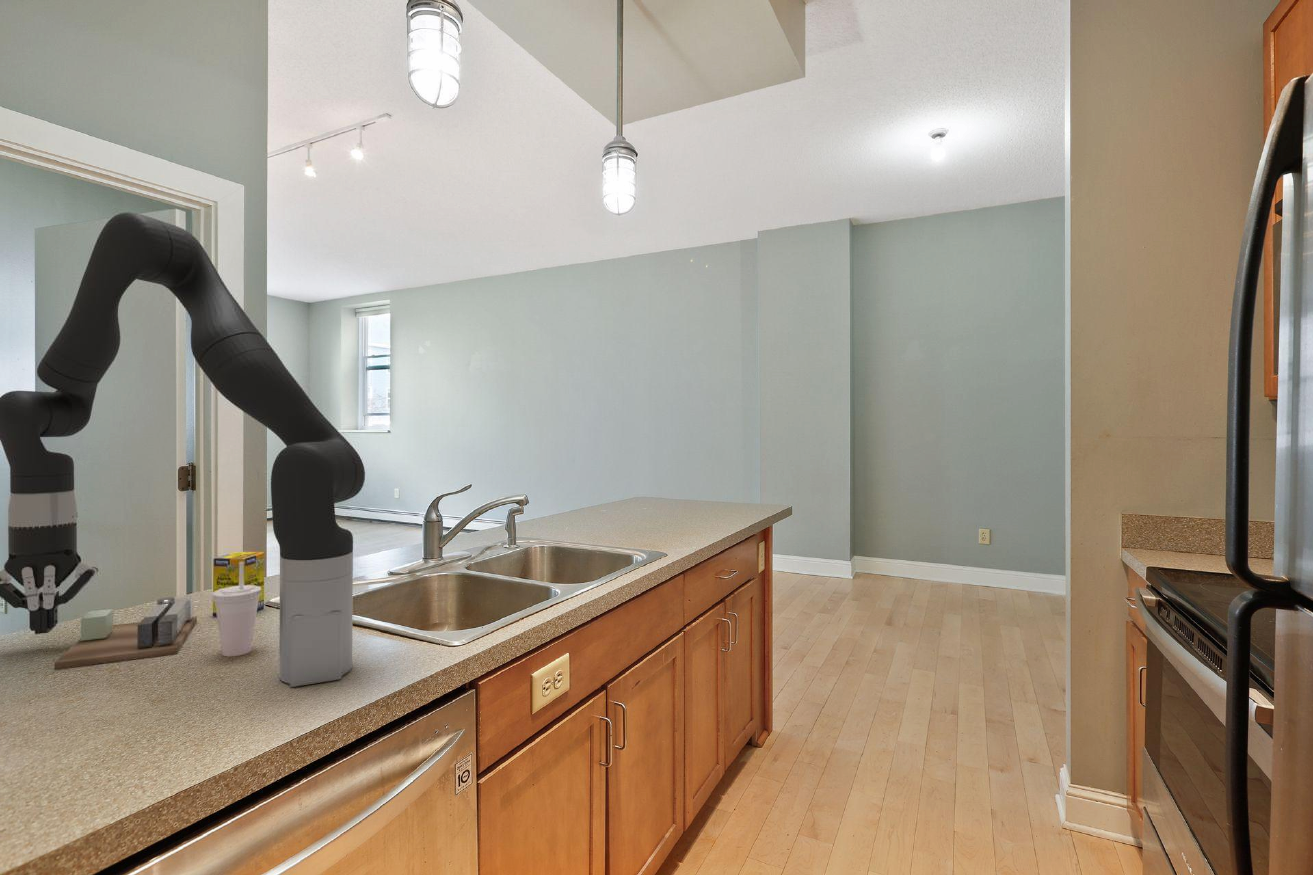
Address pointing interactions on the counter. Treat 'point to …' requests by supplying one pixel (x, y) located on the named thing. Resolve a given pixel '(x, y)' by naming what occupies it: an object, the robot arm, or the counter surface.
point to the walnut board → (119, 647)
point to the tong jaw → (151, 626)
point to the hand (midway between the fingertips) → (44, 631)
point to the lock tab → (96, 624)
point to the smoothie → (236, 615)
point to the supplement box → (229, 572)
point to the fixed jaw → (174, 618)
